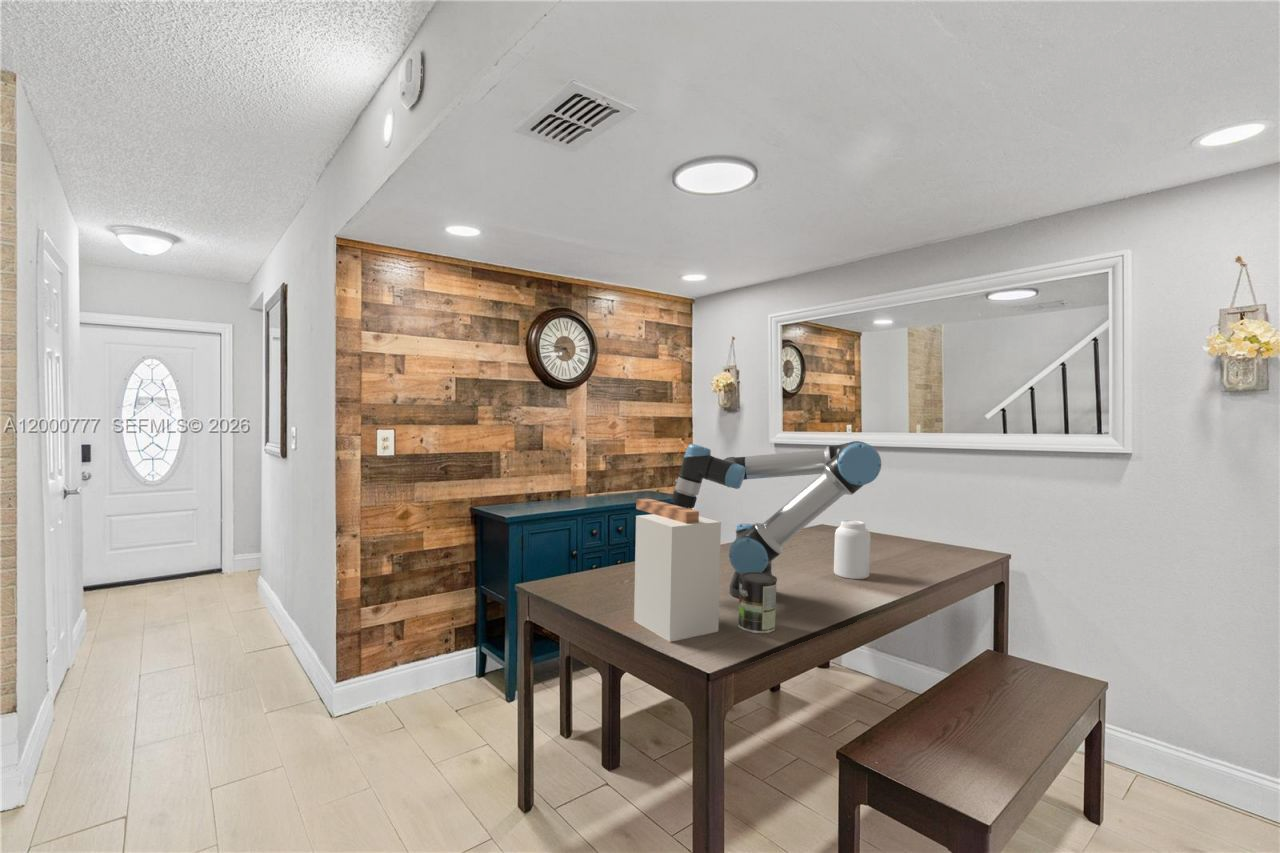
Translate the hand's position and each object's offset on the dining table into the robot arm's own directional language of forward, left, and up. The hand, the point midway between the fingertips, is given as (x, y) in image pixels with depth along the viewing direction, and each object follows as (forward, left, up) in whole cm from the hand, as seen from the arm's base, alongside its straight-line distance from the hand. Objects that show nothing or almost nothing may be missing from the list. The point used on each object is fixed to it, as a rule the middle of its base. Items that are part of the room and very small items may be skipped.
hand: (666, 557), depth 196 cm
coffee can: (-29, +17, -14) cm, 36 cm away
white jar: (-60, -49, -14) cm, 79 cm away
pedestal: (-7, +23, -14) cm, 27 cm away
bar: (-3, +18, +16) cm, 25 cm away
